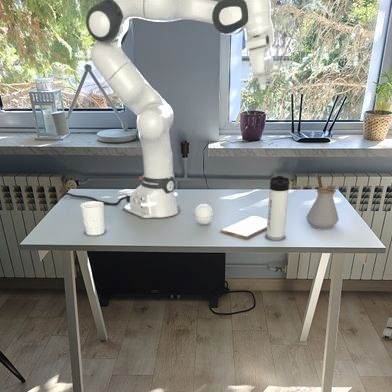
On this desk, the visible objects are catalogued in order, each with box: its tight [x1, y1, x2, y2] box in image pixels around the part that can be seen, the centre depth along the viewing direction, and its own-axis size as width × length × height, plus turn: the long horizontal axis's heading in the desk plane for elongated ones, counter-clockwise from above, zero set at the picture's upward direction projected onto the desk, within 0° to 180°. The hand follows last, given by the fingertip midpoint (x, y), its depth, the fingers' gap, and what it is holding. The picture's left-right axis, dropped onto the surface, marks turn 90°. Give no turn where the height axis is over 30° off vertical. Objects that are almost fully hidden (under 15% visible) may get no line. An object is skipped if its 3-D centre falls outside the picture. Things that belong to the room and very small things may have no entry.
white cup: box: [80, 200, 106, 236], centre depth 177 cm, size 8×8×10 cm
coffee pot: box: [306, 172, 340, 230], centre depth 183 cm, size 21×12×15 cm, turn 0°
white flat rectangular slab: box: [221, 214, 268, 240], centre depth 182 cm, size 11×20×1 cm, turn 140°
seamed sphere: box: [193, 203, 215, 226], centre depth 183 cm, size 10×7×7 cm
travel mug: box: [266, 175, 290, 241], centre depth 169 cm, size 6×7×20 cm
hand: (265, 87), depth 166 cm, fingers open, 8 cm apart
